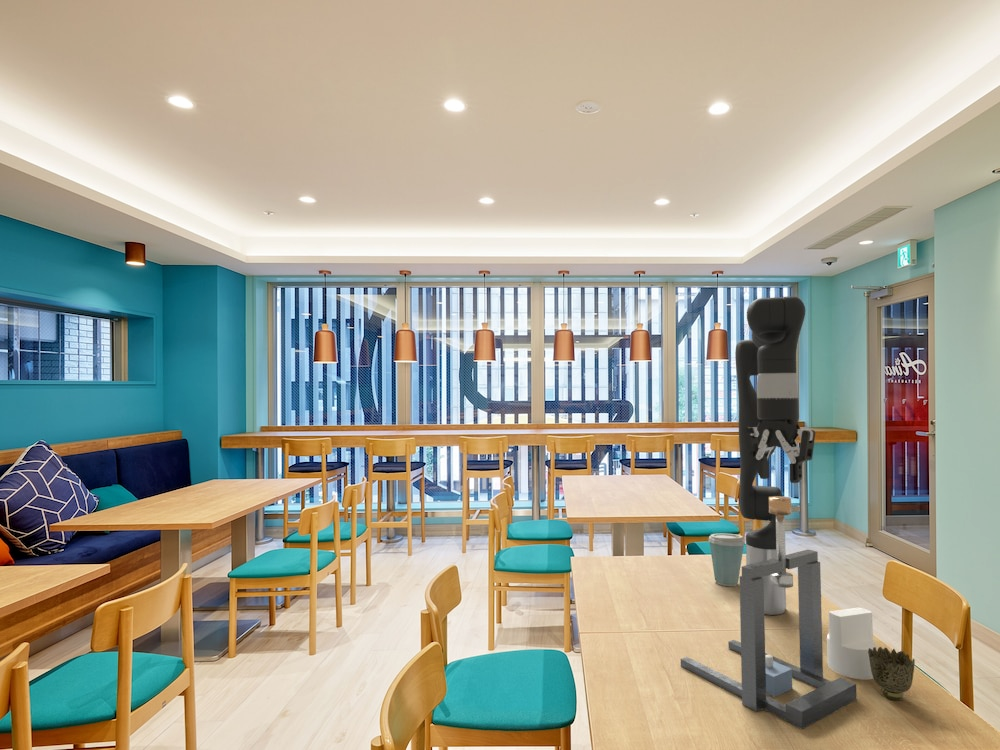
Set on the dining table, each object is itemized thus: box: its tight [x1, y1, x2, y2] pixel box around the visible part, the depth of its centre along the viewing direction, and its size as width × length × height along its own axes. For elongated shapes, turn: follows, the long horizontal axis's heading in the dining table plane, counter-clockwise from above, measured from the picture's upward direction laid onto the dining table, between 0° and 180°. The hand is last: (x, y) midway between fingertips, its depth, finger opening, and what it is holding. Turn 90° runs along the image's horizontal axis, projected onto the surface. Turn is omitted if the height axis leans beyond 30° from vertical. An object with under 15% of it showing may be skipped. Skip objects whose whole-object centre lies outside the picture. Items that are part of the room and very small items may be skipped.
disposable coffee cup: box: [708, 533, 746, 587], centre depth 175 cm, size 11×11×15 cm
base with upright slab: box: [826, 606, 877, 681], centre depth 120 cm, size 9×9×12 cm
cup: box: [868, 646, 915, 701], centre depth 109 cm, size 8×7×8 cm
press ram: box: [769, 496, 794, 589], centre depth 112 cm, size 4×4×17 cm
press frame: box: [680, 549, 858, 730], centre depth 115 cm, size 22×27×26 cm
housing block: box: [765, 654, 793, 698], centre depth 113 cm, size 6×6×6 cm
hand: (779, 480), depth 112 cm, fingers open, 6 cm apart
